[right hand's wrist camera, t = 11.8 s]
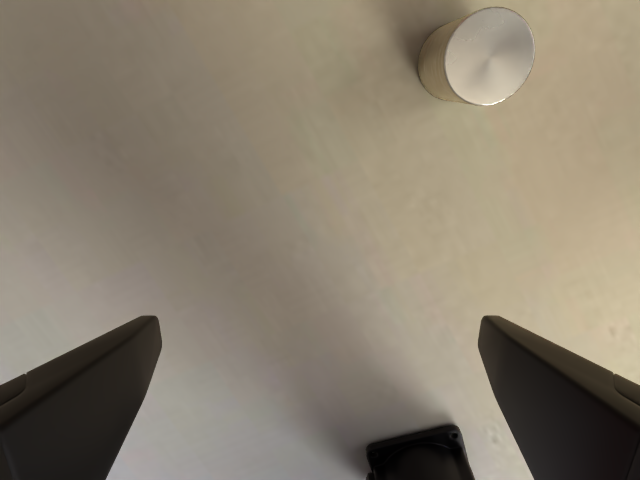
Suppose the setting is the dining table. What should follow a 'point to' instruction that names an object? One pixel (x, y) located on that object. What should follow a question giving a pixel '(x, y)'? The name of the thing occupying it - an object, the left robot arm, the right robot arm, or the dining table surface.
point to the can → (478, 57)
